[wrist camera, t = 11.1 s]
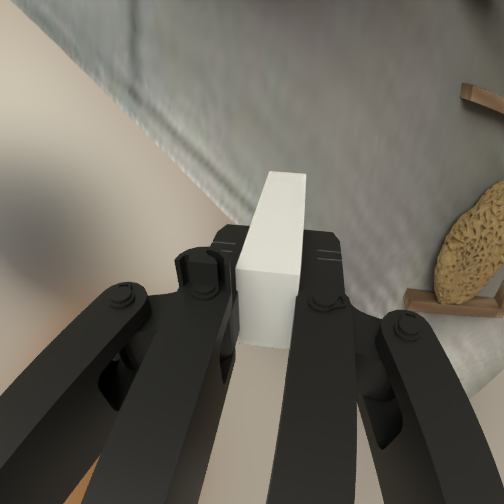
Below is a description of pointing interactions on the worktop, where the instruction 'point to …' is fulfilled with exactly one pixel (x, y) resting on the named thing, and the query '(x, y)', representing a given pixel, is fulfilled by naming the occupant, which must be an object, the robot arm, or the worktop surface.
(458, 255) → the sponge
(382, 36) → the worktop surface
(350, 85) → the worktop surface
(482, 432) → the robot arm
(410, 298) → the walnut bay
